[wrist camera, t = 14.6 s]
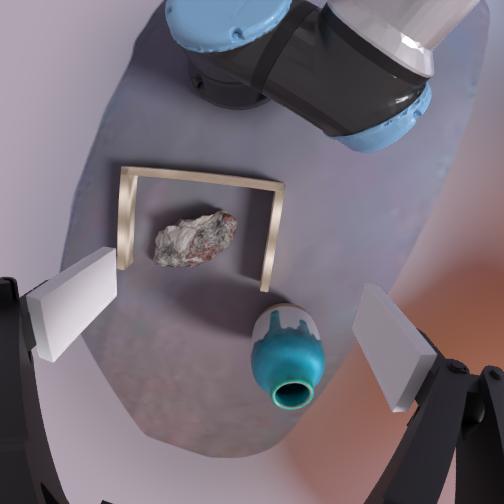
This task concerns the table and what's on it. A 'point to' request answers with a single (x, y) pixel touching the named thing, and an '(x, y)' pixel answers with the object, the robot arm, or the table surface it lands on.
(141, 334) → the table surface
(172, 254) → the mineral rock
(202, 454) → the table surface
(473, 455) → the robot arm
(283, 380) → the vase
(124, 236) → the u-shaped wooden frame
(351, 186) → the table surface
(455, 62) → the table surface
